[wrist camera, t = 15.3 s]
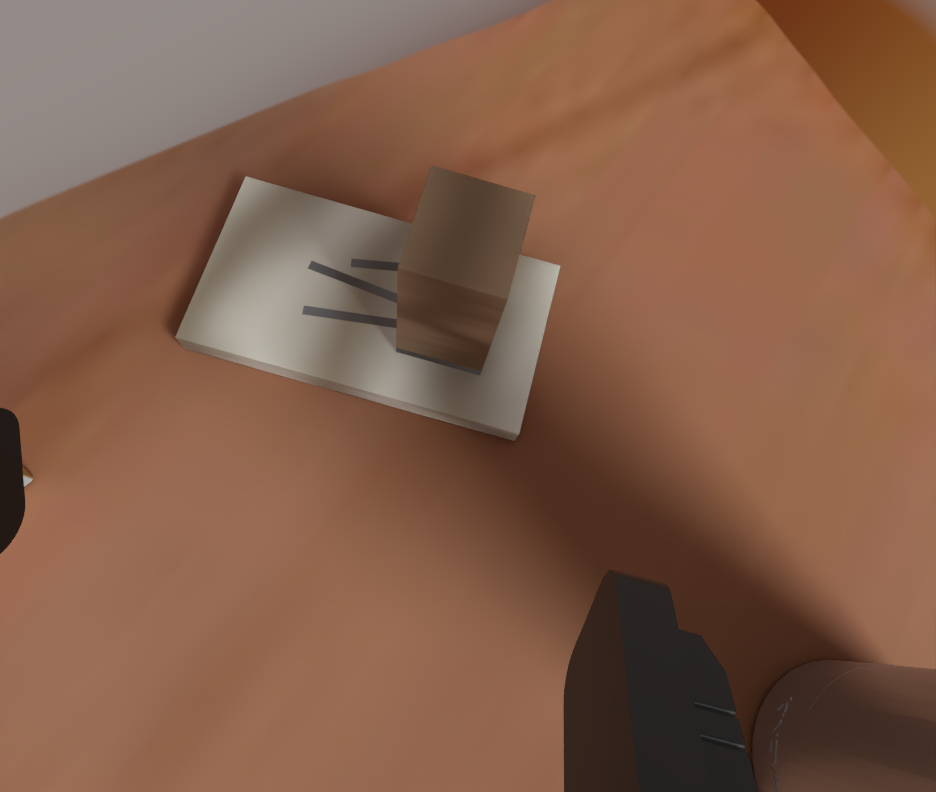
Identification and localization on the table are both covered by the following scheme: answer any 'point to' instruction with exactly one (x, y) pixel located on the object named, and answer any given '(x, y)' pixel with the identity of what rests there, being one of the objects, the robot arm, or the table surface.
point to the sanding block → (458, 268)
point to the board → (351, 311)
